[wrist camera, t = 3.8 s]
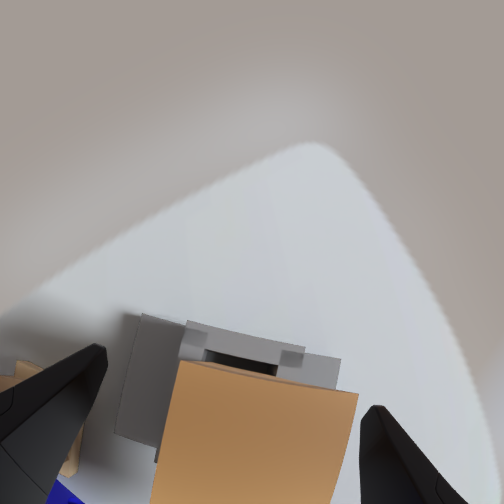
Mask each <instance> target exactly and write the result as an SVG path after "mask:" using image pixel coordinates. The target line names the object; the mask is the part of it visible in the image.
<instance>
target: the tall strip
mask: <svg viewBox="0 0 504 504" xmlns="http://www.w3.org/2000/svg"><path fill="white" fill-rule="evenodd" d="M358 395H359V394H356V393H351V392H345V391H339V390H334V389H329V388H324V387H319V386H314V385H309V384H305V383H300V382H296V381H291V380H287V379H283V378H279V377H275V376H271V375H267V374H263V373H259V372H254V371H249V370H245V369H240V368H235V367H231V366H227V365H222V364H218V363H214V362H202V361H185V360H180V364H179V368H178V372H177V377H176V381H175V385H174V389H173V393H172V398H171V402H170V406H169V411H168V415H167V420H166V424H165V429H164V434H163V438H162V443H161V448H160V452H159V457H158V462H157V467H156V472H155V477H154V482H153V488H152V493H151V498H150V504H330V501H331V498H332V495H333V492H334V489H335V486H336V483H337V479H338V476H339V473H340V469H341V466H342V462H343V459H344V455H345V451H346V447H347V444H348V440H349V436H350V432H351V427H352V423H353V419H354V414H355V410H356V405H357V400H358Z"/></svg>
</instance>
